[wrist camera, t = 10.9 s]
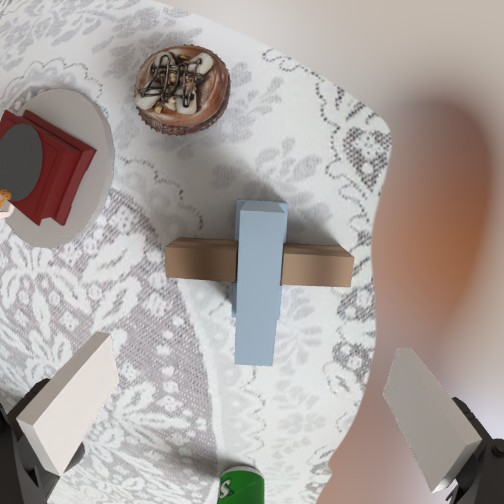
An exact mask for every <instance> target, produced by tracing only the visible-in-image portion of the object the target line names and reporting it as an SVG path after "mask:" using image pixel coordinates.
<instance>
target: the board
mask: <svg viewBox="0 0 504 504" xmlns="http://www.w3.org/2000/svg"><path fill="white" fill-rule="evenodd" d="M238 253H239V241H237V240H219V239H200V238H179V237H178V238H177V239H176V240H174V241H173V242H171V243H170V244H169V245H167V246H166V247H165V266H166V277H170V278H184V279H198V280H213V281H228V282H235V280H236V276H237V273H238ZM353 265H354V257H353V256H352V255H351V254H350V253H349V252H347V251H346V250H345V249H344V248H343V247H341V246H325V245H309V244H292V243H283V251H282V264H281V277H280V279H281V284H282V285H303V286H328V287H350V286H351V279H352V272H353Z"/></svg>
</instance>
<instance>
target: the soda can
mask: <svg viewBox="0 0 504 504" xmlns="http://www.w3.org/2000/svg"><path fill="white" fill-rule="evenodd" d="M217 504H264V476H263V475H262V474H261V473H260V472H258V471H257V470H256V469H254V468H252V467H248V466H234V467H231V468H229V469H228V470H226V471H224V472H223V473H222V474H221V477H220V484H219V492H218V499H217Z"/></svg>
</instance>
